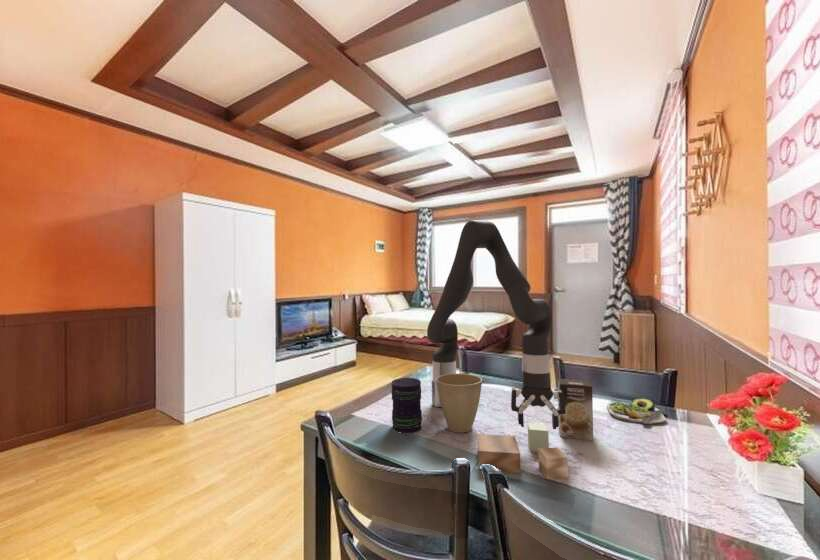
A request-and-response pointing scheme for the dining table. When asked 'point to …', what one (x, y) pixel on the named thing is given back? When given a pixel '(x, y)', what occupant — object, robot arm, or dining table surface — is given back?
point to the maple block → (553, 463)
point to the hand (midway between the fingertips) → (538, 427)
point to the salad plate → (637, 411)
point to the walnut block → (499, 452)
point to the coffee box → (576, 409)
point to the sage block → (537, 436)
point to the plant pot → (459, 399)
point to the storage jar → (406, 405)
